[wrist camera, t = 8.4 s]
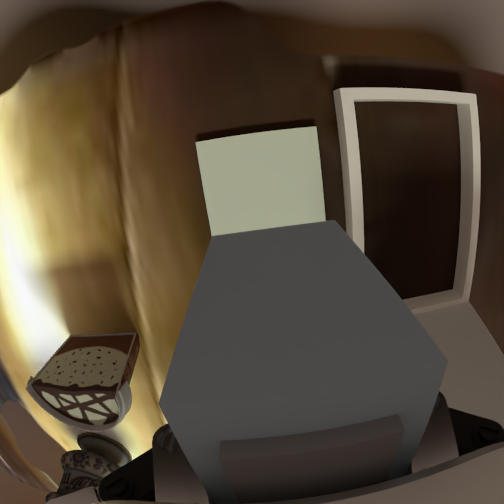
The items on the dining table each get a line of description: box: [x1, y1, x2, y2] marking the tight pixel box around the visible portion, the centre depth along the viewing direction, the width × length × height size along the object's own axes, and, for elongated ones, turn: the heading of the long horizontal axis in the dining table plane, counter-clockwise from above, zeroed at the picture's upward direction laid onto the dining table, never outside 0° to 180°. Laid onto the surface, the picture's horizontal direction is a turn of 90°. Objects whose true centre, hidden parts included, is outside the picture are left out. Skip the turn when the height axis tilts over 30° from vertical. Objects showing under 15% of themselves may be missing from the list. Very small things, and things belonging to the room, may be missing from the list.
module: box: [159, 220, 448, 504], centre depth 9 cm, size 4×9×8 cm, turn 8°
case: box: [333, 88, 504, 429], centre depth 20 cm, size 14×26×18 cm, turn 8°
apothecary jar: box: [46, 433, 132, 503], centre depth 34 cm, size 12×12×18 cm
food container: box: [26, 332, 140, 432], centre depth 29 cm, size 12×6×10 cm, turn 98°
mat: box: [196, 126, 326, 236], centre depth 28 cm, size 10×16×1 cm, turn 8°
